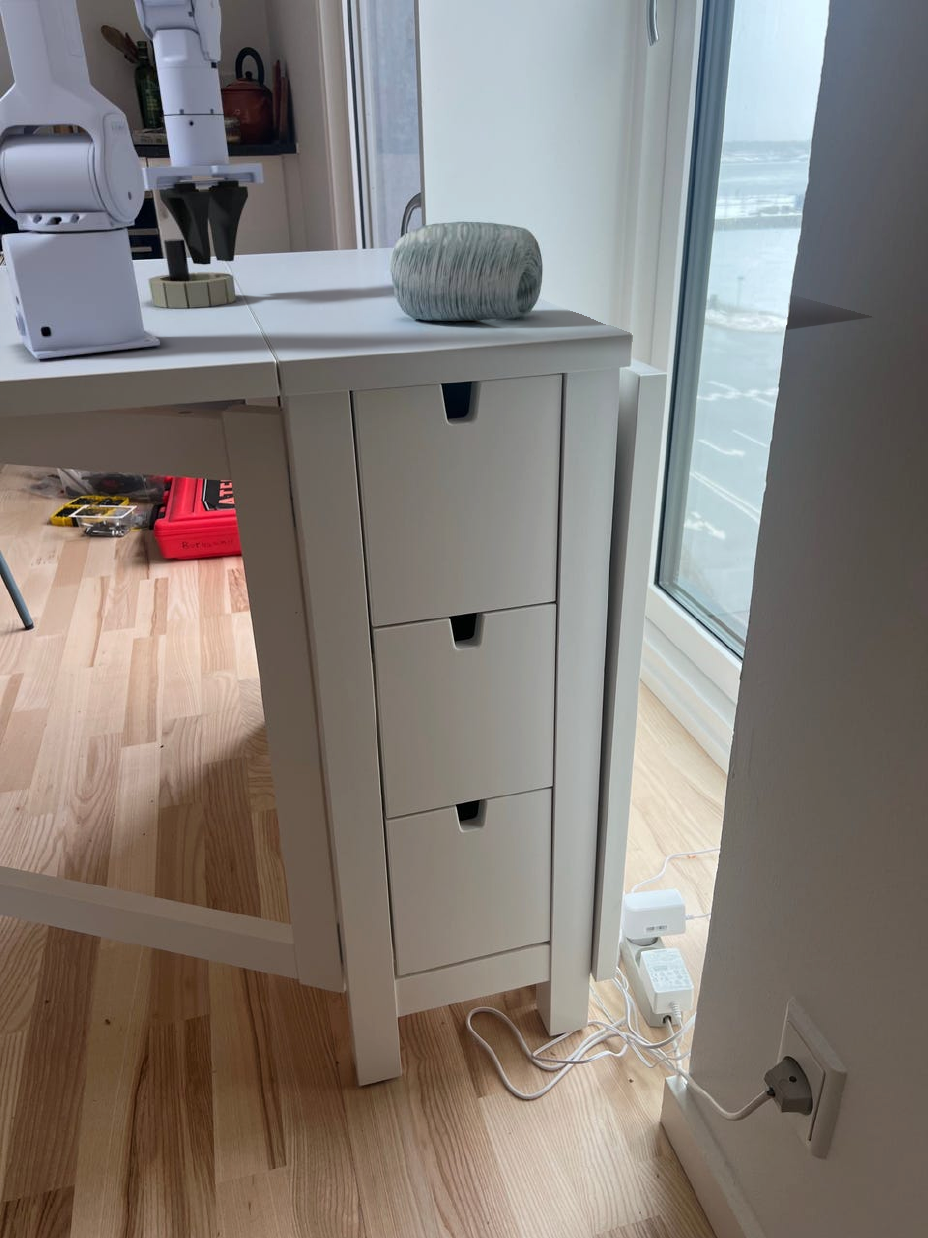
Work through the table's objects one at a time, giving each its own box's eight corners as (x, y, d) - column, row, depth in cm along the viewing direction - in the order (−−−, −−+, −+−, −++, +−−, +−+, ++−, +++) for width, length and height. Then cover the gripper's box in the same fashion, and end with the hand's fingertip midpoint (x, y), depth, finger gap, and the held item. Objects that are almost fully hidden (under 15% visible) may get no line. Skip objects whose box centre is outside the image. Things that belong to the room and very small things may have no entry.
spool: (552, 271, 87) (526, 173, 80) (555, 334, 82) (528, 235, 74) (417, 306, 91) (379, 215, 83) (411, 369, 85) (371, 278, 78)
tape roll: (186, 310, 91) (182, 284, 90) (136, 303, 96) (132, 279, 95) (251, 299, 97) (248, 275, 96) (201, 293, 102) (198, 270, 101)
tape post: (176, 303, 96) (166, 241, 93) (171, 300, 97) (161, 239, 95) (195, 301, 97) (186, 239, 94) (189, 298, 98) (181, 238, 95)
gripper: (156, 113, 84) (180, 272, 90) (276, 114, 94) (290, 256, 100) (111, 116, 87) (137, 267, 94) (231, 116, 98) (247, 253, 104)
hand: (213, 262), depth 97 cm, fingers closed
